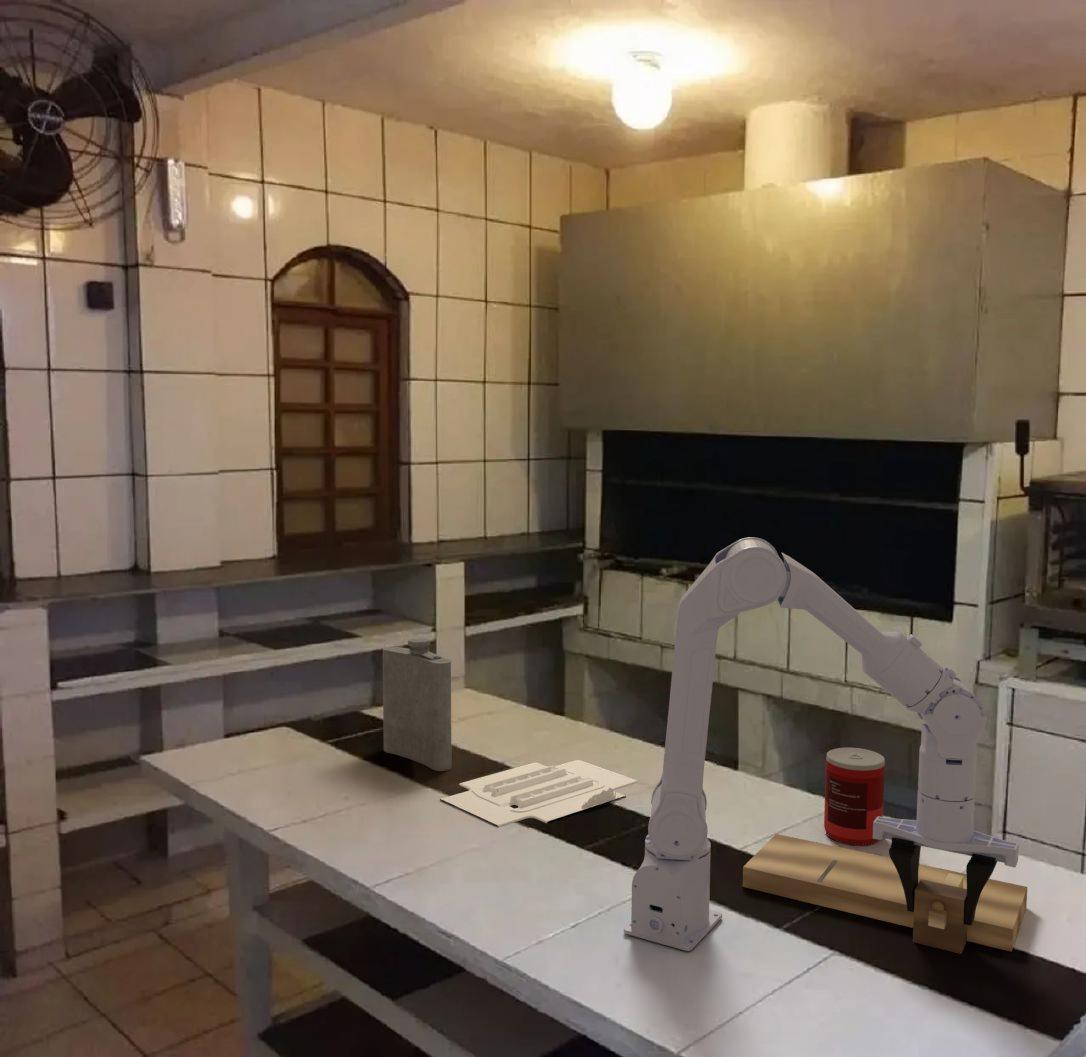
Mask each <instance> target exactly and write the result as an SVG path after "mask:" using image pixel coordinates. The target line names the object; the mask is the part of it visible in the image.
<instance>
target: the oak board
mask: <svg viewBox="0 0 1086 1057" xmlns="http://www.w3.org/2000/svg"><path fill="white" fill-rule="evenodd" d="M948 873H952V874H956V875H961V876H964V877H963V888H964V889H967V874H966V873H963V872H961V871H960V872H958V871H954V870H950V869H944V868H940V867H935V866H931V865H926V864H921V863H919V870H918V883H919V882H920V880H921V879H923V880H928V881H932V882H937V883H941V884H943V883H944V881H945V879H946V877H947V875H948ZM742 887H743V888H747V889H751V890H754V891H758V892H759V891H760V892H762V893H766V894H767V893H768V894H771V895H774V896H775V895H776V896H779V897H783V898H788V899H792V900H795V901H799V902H804V903H809V904H812V905H817V906H821V907H826V908H829V909H832V910H833V909H834V910H837V911H842V912H846V913H850V914H854V915H858V916H863V917H866V918H871V919H874V920H879V921H882V922H883V921H884V922H887V923H891V924H895V925H899V926H903V927H908V928H912V929H913V923H914V912H910V911H907V904H906V898H905V894H904V889H903V886H902V883H901V880H900V877H899V874H898V872H897V870H896V868H895V865H894V864H893V862H892V860H891V858H890V856H882V855H879V854H873V853H869V852H865V851H860V850H859V851H858V850H855V849H849V848H845V847H840V846H835V845H831V844H827V843H822V842H817V841H811V840H807V839H802V838H797V837H793V836H787V835H785V834H779V833H775V834H774V835H773V836H772V837H771V838H770V839H769V840H768V841H767V842H766V843H765V844H764V845H763V846H762V847H761V849H760V850H758V851H757V852H756V853H755V854H754V855H753V856H752V858H750V859H749V861H747V862H746V864H744V865H743V867H742ZM1027 902H1028V886H1025V885H1021V884H1016V883H1010V882H1008V881H1007V882H1006V881H1002V880H997V879H992V878H989V880H988V881H987V883H986V884H985V886H984V888H983V890H982V892H981V894H980V897H979V900H978V903H977V907H976V912H975V918H974V921H973V923H972V925H971V926H970V925H967V942H970V943H974V944H978V945H981V946H982V945H983V946H986V947H991V948H994V949H999V950H1004V951H1007V952H1013V949H1014V946H1015V943H1016V941H1017V937H1018V934H1019V930H1020V928H1021V926H1022V921H1023V919H1024V915H1025V913H1026V910H1027Z"/></svg>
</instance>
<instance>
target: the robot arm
mask: <svg viewBox="0 0 1086 1057" xmlns="http://www.w3.org/2000/svg"><path fill="white" fill-rule="evenodd" d="M781 555H782V558H783V560H782V558H781V557H780V556H779V554H778V552H777V550H776V548H775V547H774V546H773V545H772V544H771V543H770V542H768V541H767V540H765V539H763V538H759V537H754V536H753V537H749V536H748V537H744V538H741V539H738V540H736V541H734V542H733V543H731V544H730V545H728V546H726V547H725V548H722V549H721V550H720V551H718V552H716V554H715V556H713V558H712V560H711V561H710V562H709V564H708V565H706V567H705V569H704V570H703V571H702V572H701V574H699V576H698V577H697V578H696V579H695V581H694V582H693V583H692V584H691V586H689V588H688V589H687V590H686V591H685V592H684V594H682V597H681V598H680V601H679V603H678V610H677V618H676V619H677V621H676V630H675V639H674V640H675V642H674V649H673V650H674V652H673V660H672V671H671V680H670V681H671V682H670V691H669V692H670V694H669V702H668V711H667V712H668V714H667V725H666V733H665V745H664V753H663V754H664V755H663V764H662V774H661V778H660V780H659V781H658V783H657V784H656V786H655V787H654V790H653V791H652V793H651V801H650V803H651V811H650V818H649V821H648V824H647V825H648V827H647V830H648V834H647V835H646V836H645V840H644V845H645V846H644V857H643V861H642V863H641V865H640V867H639V868H638V869H637V870H636V872H635V873H634V875H633V878H632V882H631V913H630V914H631V917H630V918H631V921H630V922H629V923H628V924H627V925H626V926H625V927H624V928H623V933H624V934H626V935H628V936H633V937H635V938H640V939H643V940H646V941H650V942H653V943H656V944H659V945H660V944H661V945H664V946H669V947H670V948H674V949H678V950H682V951H685V952H690V951H692V950H693V949H694V948H695V947H696V946H697V945H698V944H699V943H700V942H701V941H702V939H703V938H704V937H705V936H706V935H707V934H708V933H709V932H710V931H711V930H712V929H713V927H715V925H717V924H718V922H719V921H720V920H721V919H722V918H723V914H722V912H721V911H716V910H712V909H710V896H711V895H710V890H711V889H710V887H711V884H710V883H711V848H712V847H711V845H712V844H711V841H710V839H708V832H709V831H708V824H707V821H706V820H707V819H706V818H707V816H706V814H707V813H706V812H707V806H708V803H707V802H708V801H707V795H706V792H705V790H704V788H703V787H704V771H705V761H706V754H707V753H706V752H707V751H706V750H707V741H708V731H709V724H710V723H709V722H710V721H709V720H710V713H711V712H710V711H711V703H712V692H713V683H714V672H715V664H716V663H715V662H716V653H717V642H718V634H719V629H720V628H721V627H722V626H724V625H725V624H727V623H728V622H730V621H731V620H733V619H735V618H736V617H738V616H739V615H740V614H741V613H744V612H749V611H752V610H756V609H760V608H763V607H765V606H766V607H767V606H768V605H771V604H772V603H774V602H775V601H776V600H777V602H778V604H779V607H780V608H783V609H796V610H804V611H806V612H808V613H809V614H810V615H812V616H813V617H814V618H815V619H817V620H818V621H819V622H820V623H822V624H823V625H824V626H825V627H827V628H828V629H829V630H830V631H832V632H833V633H834V634H836V635H837V636H838V637H839V638H841V639H842V640H843V641H844V642H846V643H847V645H850V646H851V647H852V648H854V650H856V651H857V652H858V653H860V655H861V661H862V672H864V674H866V675H867V676H868V677H869V678H870V679H872V680H873V681H874V682H875V683H876V684H877V685H879V686H880V687H881V688H882V689H883V690H885V691H886V693H888V694H890V696H892V697H893V698H894V699H895V700H897V701H898V703H900V704H902V706H904V707H905V708H906V709H907V710H909V711H911V712H914V713H916V714H917V716H918V717H919V719H920V720H923V721H924V723H922V724H921V736H920V741H921V742H920V746H919V753H918V754H919V757H918V758H919V759H918V777H917V779H918V781H917V798H916V799H917V800H916V802H917V804H916V819H905V818H902V819H901V818H891V817H884V816H883V817H879V816H878V817H877V818H876V819H875V821H874V822H873V839H878V840H879V841H884V839H885V840H890V841H891V843H890V848H889V849H888V854H889V858H891V860H892V862H893V864H894V865H895V868H896V870H897V872H898V874H899V877H900V880H901V883H902V886H903V889H904V894H905V898H906V904H907V911H910V912H914V901H915V889H916V887H917V885H918V870H919V864H920V859H921V849H922V847H925V848H929V849H930V848H931V849H933V850H934V849H935V850H939V851H944V852H949V853H955V854H959V855H964V856H969V857H970V859H968V862H967V864H966V867H965V871H966V873H965V874H967V899H966V907H965V915H964V924H966V925H970V926H971V925H972V923H973V921H974V918H975V912H976V907H977V903H978V900H979V897H980V894H981V892H982V890H983V888H984V886H985V884H986V883H987V881H988V880H989V879H991V876H992V874H993V872H994V870H995V868H996V865H997V864H998V862H999V863H1003V864H1004V866H1006V867H1010V868H1011V867H1012V868H1016V867H1017V864H1018V862H1019V853H1020V850H1019V848H1020V844H1019V843H1018V842H1014V841H1009V840H1007V839H1006V840H1005V839H1002V838H998V837H995V836H992V835H989V834H987V833H983V832H980V831H977V830H974V822H975V821H974V820H975V801H976V786H977V784H976V782H977V764H978V762H977V760H978V754H977V744H978V742H977V741H978V740H977V739H978V738H979V737H980V736H981V734H982V733H983V732H984V730H985V728H986V726H987V721H988V718H987V716H985V710H984V708H983V706H982V703H981V700H980V699H979V698H978V697H977V696H976V695H975V694H974V693H973V692H972V690H970V689H969V688H968V687H967V685H966V684H964V683H963V682H962V680H961V679H960V678H959V677H958V676H957V673H956V671H955V670H953V669H952V668H950V666H945V668H944V667H943V666H941V665H940V664H939V663H938V662H937V661H936V660H934V659H933V658H932V657H931V656H930V655H928V654H927V653H926V652H925V651H924V650H923V649H921V646H923V643H922V642H921V641H920V640H919V639H918V638H917V637H916V636H914V635H913V634H909V635H908V636H906V635H905V634H903V633H902V631H895V630H894V631H881V630H879V629H877V628H876V626H874V625H873V624H872V623H871V622H870V621H869V620H868V619H866V618H865V617H864V616H863V615H862V614H860V612H858V611H857V610H856V609H855V608H854V607H853V606H852V605H851V604H850V603H848V602H847V601H846V600H845V598H843V597H842V596H841V595H839V594H838V593H837V592H836V591H835V590H834V589H832V588H831V587H830V586H829V585H828V584H827V583H826V582H825V581H824V580H822V578H820V577H819V576H818V575H817V574H816V573H814V572H813V571H812V570H810V569H809V568H807V567H806V566H804V565H803V564H802V563H800V562H798V561H797V560H795V559H794V558H793V557H791V556H789V555H787V554H785V553H784V552H781Z"/></svg>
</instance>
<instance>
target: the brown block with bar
mask: <svg viewBox="0 0 1086 1057" xmlns="http://www.w3.org/2000/svg"><path fill="white" fill-rule="evenodd" d="M963 877H964V876H961V875H956V874H952V873H948V875H947V877H946V879H945V881H944V883H943V884H941V883H937V882H932V881H928V880H923V879H921V880H920V882H919V883H918V885H917V887H916V889H915V901H914V923H913V928H912V943H915V944H919V945H924V946H927V947H931V948H935V949H941V950H944V951H948V952H951V953H952V952H953V953H956V954H959V955H962V953H963V952H964V949H965V946H966V945H967V942H968V941H967V925H966V924H964V915H965V907H966V899H967V889H964V888H963Z"/></svg>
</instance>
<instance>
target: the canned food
mask: <svg viewBox="0 0 1086 1057" xmlns="http://www.w3.org/2000/svg"><path fill="white" fill-rule="evenodd" d="M885 761H886V760H885V757H884V756H883V755H882V754H880V753H878V752H876V751H874V750H870V749H865V748H860V747H838V748H834V749H830V750H828V752H826V757H825V777H824V778H825V779H824V809H823V810H824V813H823V814H824V815H823V816H824V817H823V827H824V831H825V834H826V835H827V836H828V838H831V839H832V840H833V841H835V842H838V843H840V844H844V845H845V844H846V845H849V846H869V845H873V844H876V843H877V842H880V840H878V839H873V822H874V821H875V819H876V818H877V817H878V816H879V817H884V802H885V801H884V798H885V796H884V795H885V779H886V778H885V777H886V776H885V775H886V773H885V772H886V762H885Z"/></svg>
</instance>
